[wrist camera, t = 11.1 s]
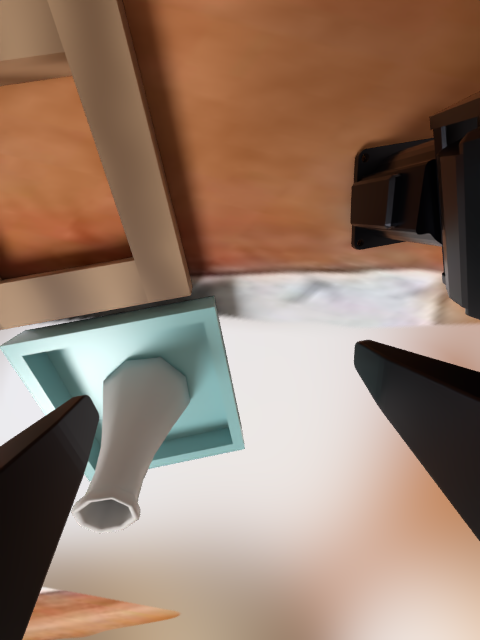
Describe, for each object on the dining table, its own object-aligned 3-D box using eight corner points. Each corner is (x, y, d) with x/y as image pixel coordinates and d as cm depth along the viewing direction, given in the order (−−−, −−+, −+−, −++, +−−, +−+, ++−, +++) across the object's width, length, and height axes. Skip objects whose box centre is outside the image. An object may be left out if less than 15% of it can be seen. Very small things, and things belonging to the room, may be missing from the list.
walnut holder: (119, -13, 12) (103, -53, 10) (192, 287, 19) (190, 295, 17) (-214, 30, 12) (-293, -4, 10) (-16, 325, 18) (-41, 337, 16)
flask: (165, 342, 20) (128, 450, 11) (203, 402, 23) (198, 526, 14) (88, 375, 20) (-9, 504, 11) (135, 429, 23) (88, 566, 14)
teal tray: (214, 295, 19) (214, 307, 17) (241, 427, 26) (244, 448, 23) (24, 330, 19) (-1, 346, 17) (100, 456, 25) (89, 481, 23)
